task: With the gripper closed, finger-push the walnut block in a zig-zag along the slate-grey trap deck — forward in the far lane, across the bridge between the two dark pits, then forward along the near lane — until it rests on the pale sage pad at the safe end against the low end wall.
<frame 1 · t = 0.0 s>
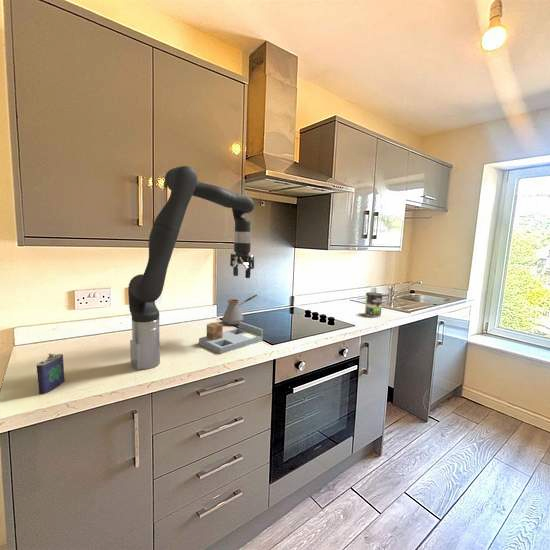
hand: (241, 276, 140), 29 cm above the table, fingers open, 8 cm apart
trap deck: (231, 342, 138), on the table
flask: (52, 387, 94), on the table
coffee can: (372, 315, 196), on the table
coffee pot: (240, 322, 170), on the table
block: (214, 337, 135), point 2 cm above the table, touching trap deck
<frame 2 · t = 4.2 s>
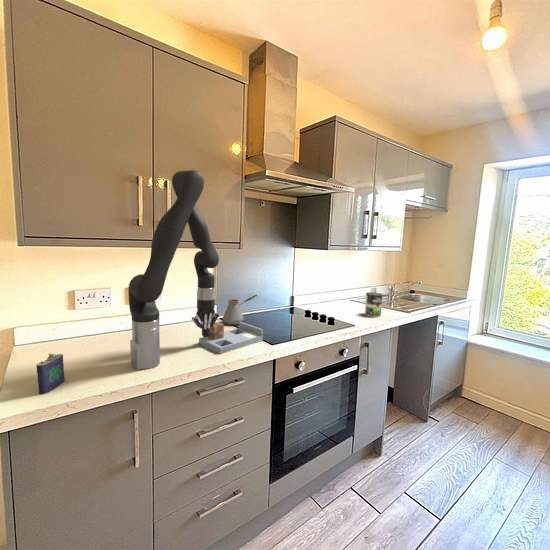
hand: (205, 336, 132), 4 cm above the table, fingers closed
nothing on the table moved.
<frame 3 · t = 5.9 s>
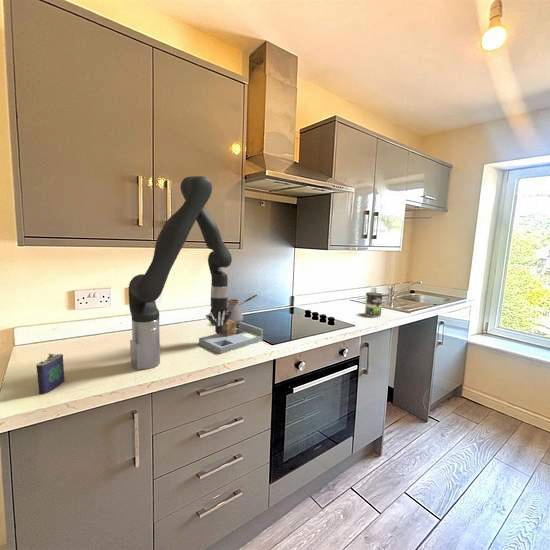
hand: (218, 333, 137), 4 cm above the table, fingers closed
block: (228, 334, 141), point 2 cm above the table, touching gripper, trap deck
everything else where it was.
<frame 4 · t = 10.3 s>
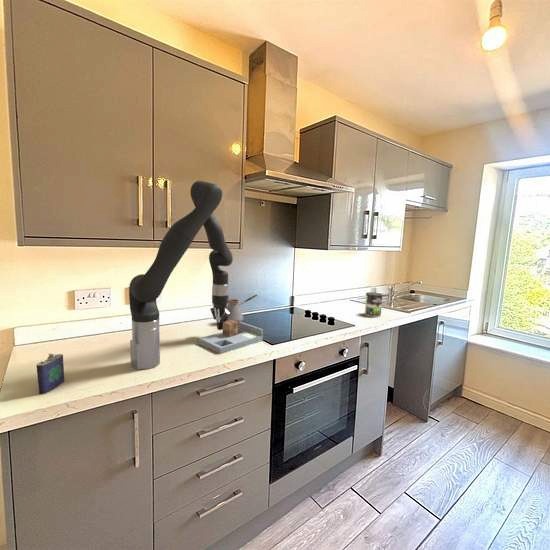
hand: (219, 329, 142), 4 cm above the table, fingers closed
block: (230, 334, 140), point 3 cm above the table, touching gripper
everything else where it was.
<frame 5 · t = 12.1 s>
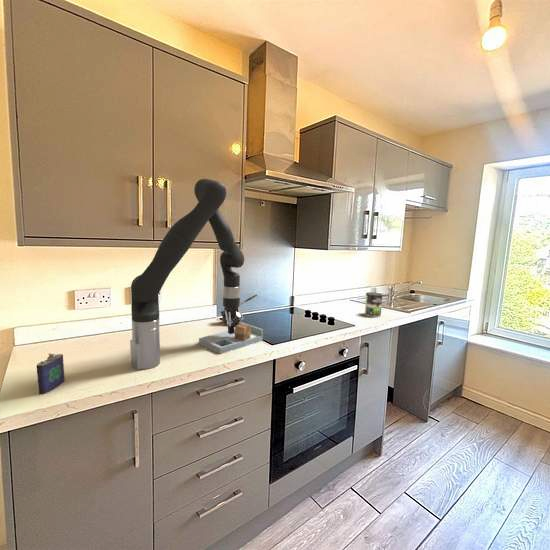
hand: (230, 333, 137), 4 cm above the table, fingers closed
block: (242, 338, 136), point 2 cm above the table, touching gripper, trap deck
everything else where it was.
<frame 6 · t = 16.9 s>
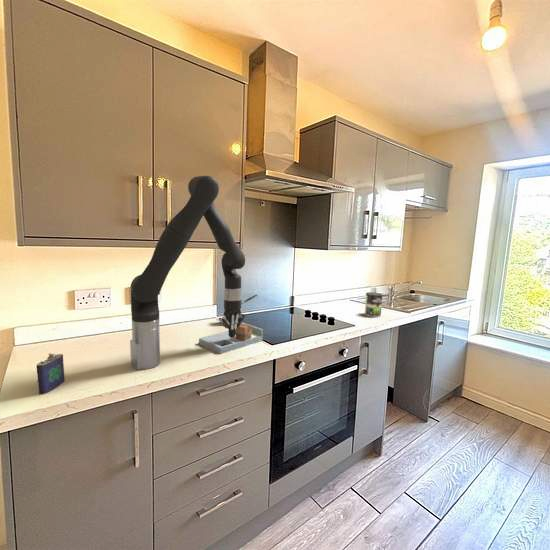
hand: (232, 337, 132), 4 cm above the table, fingers closed
block: (243, 338, 136), point 3 cm above the table
everything else where it was.
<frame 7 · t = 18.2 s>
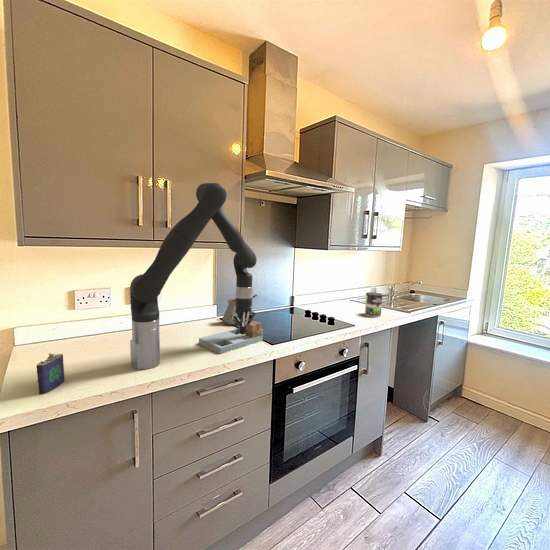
hand: (242, 333, 137), 4 cm above the table, fingers closed
block: (253, 335, 140), point 3 cm above the table, touching gripper, trap deck
everything else where it was.
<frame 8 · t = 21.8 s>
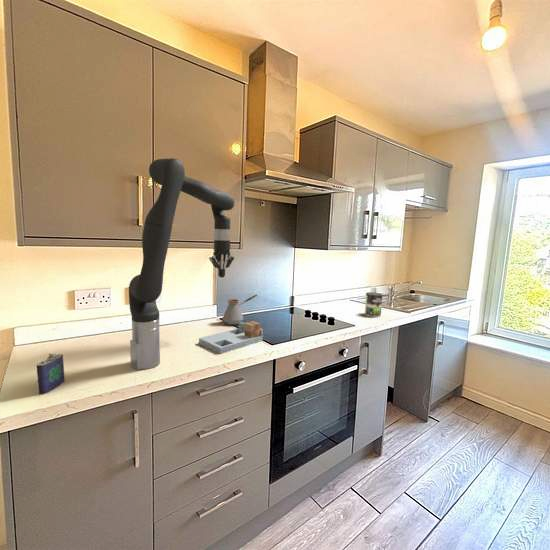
hand: (221, 277, 139), 29 cm above the table, fingers closed
block: (252, 335, 140), point 2 cm above the table, touching trap deck
everything else where it was.
at the end: block inside the target area (1.0 cm from its centre), point 2.5 cm above the table; block tilted 0° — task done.
